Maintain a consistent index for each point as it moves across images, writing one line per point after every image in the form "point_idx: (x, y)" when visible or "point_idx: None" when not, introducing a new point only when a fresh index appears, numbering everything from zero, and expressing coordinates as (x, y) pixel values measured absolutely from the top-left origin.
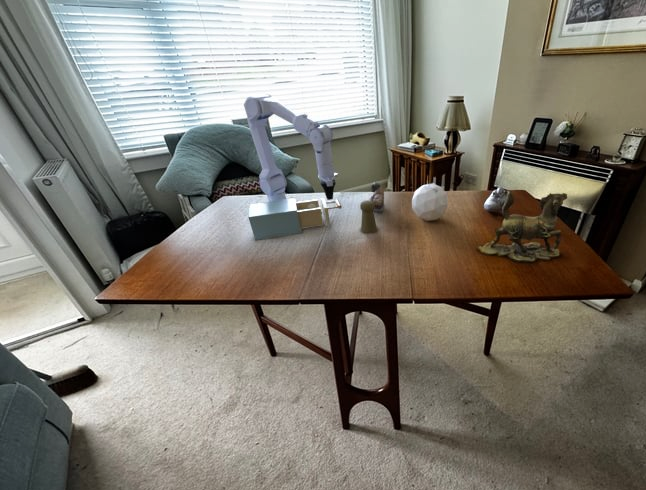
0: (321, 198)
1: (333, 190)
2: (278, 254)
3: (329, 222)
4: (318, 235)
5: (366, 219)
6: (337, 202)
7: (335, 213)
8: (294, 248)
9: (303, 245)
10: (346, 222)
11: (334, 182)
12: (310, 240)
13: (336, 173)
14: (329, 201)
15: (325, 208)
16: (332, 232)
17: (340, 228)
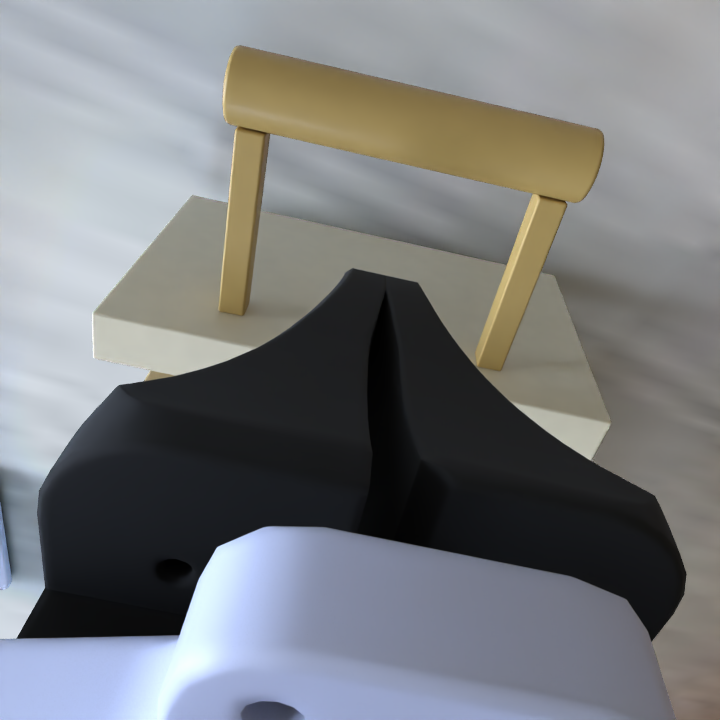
0: (135, 361)
1: (487, 380)
2: (681, 674)
3: (561, 299)
4: (626, 417)
5: None
6: (411, 150)
7: (148, 31)
8: (688, 600)
9: (699, 551)
10: (549, 13)
11: (669, 579)
12: (662, 493)
13: (281, 692)
14: (229, 238)
15: (596, 446)
16: (677, 289)
17: (658, 170)
